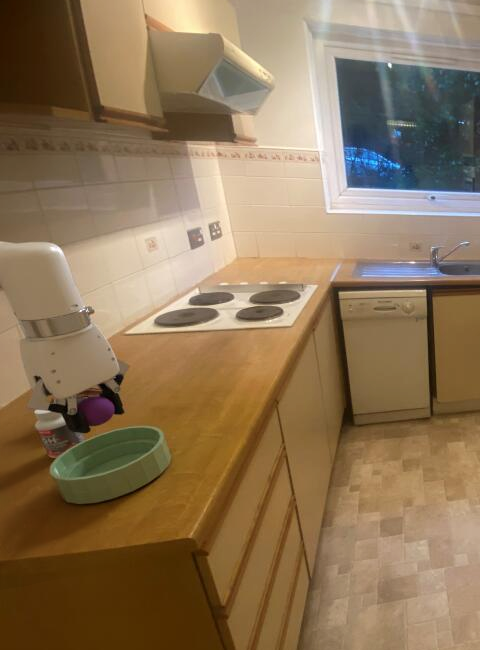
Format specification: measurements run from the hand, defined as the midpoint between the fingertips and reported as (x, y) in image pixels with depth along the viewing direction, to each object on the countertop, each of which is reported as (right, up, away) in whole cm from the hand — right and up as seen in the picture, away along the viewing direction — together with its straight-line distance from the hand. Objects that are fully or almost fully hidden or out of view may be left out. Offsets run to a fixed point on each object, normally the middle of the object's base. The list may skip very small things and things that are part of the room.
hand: (98, 421), depth 74 cm
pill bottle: (-16, -8, +11) cm, 21 cm away
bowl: (0, -11, +4) cm, 12 cm away
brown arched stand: (-24, -4, +22) cm, 33 cm away
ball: (0, +2, -1) cm, 2 cm away
